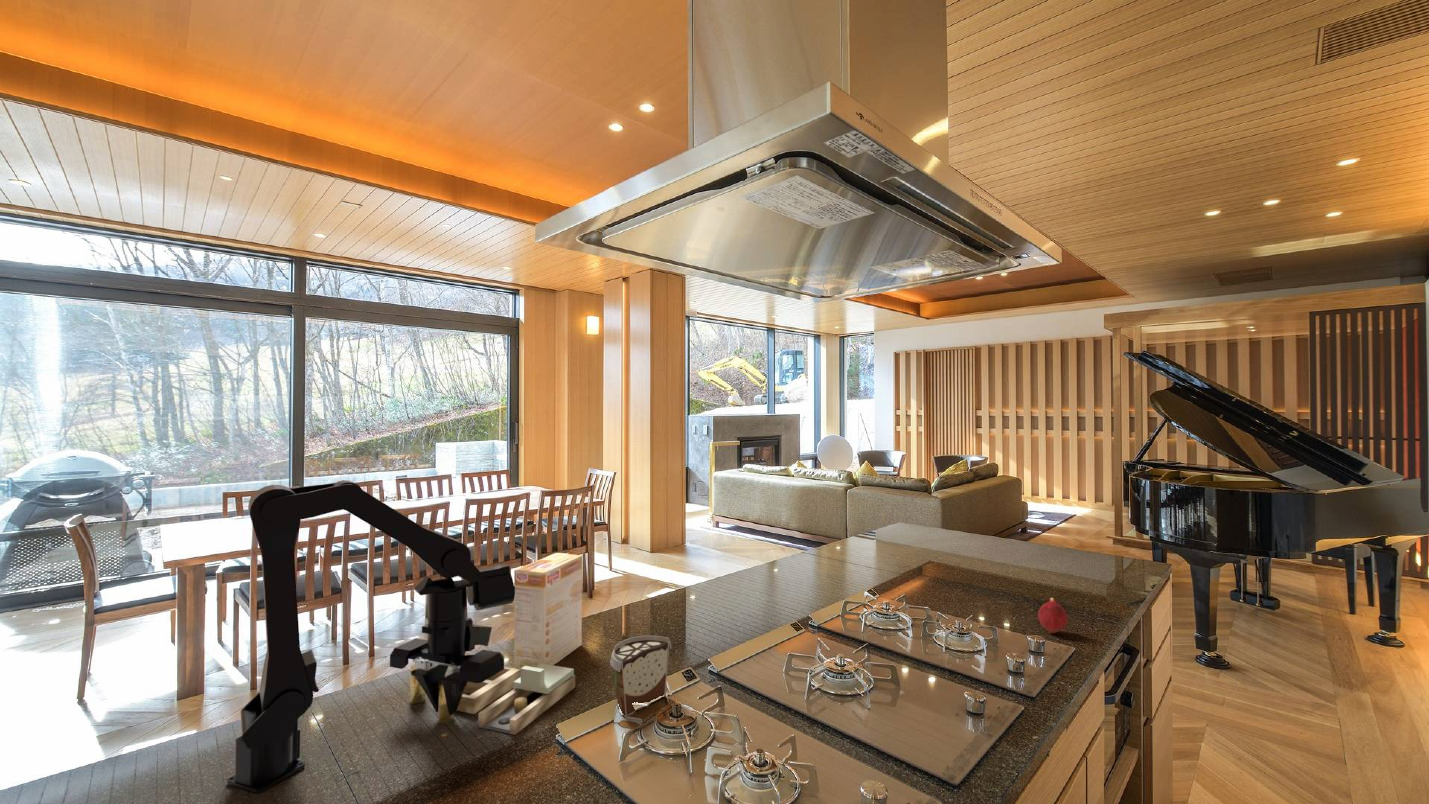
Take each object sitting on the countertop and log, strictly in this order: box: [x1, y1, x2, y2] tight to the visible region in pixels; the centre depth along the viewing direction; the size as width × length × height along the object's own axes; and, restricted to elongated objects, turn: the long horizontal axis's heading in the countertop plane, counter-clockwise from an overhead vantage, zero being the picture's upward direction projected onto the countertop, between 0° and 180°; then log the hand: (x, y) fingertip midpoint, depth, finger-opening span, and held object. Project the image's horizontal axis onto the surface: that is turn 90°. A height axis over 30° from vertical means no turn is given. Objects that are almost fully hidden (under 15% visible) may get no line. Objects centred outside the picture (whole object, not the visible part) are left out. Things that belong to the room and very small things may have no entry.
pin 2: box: [437, 681, 455, 725], centre depth 96 cm, size 2×2×6 cm
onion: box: [1037, 597, 1068, 634], centre depth 136 cm, size 6×6×8 cm
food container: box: [609, 635, 672, 716], centre depth 103 cm, size 12×6×10 cm, turn 141°
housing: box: [477, 674, 576, 736], centre depth 101 cm, size 17×7×2 cm, turn 161°
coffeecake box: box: [513, 552, 583, 671], centre depth 122 cm, size 15×7×20 cm, turn 162°
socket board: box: [456, 666, 521, 715], centre depth 105 cm, size 12×8×2 cm, turn 161°
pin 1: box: [409, 663, 427, 705], centre depth 103 cm, size 2×2×6 cm
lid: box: [512, 663, 575, 694], centre depth 105 cm, size 8×7×4 cm
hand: (446, 712), depth 96 cm, fingers closed on pin 2, 2 cm apart
